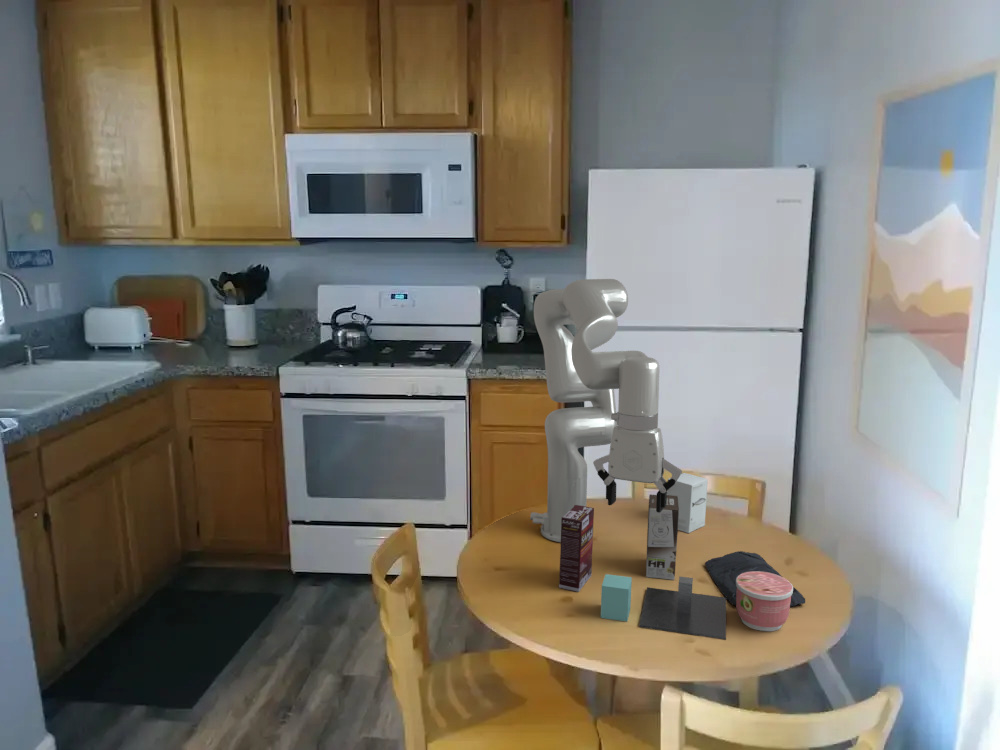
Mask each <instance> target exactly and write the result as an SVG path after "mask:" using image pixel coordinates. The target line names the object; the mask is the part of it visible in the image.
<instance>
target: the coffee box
mask: <svg viewBox="0 0 1000 750" xmlns="http://www.w3.org/2000/svg"><path fill="white" fill-rule="evenodd" d="M656 502H657V494H649V496H648V513H647V530H646V531H647V534H646V555H645V556H646V557H645V558H646V559H645V561H646V563H645V565H646V566H645V568H646V571H645V577H646V578H652V579H662V580H670V581H674V580H675V579H676V578H675V576H676V564H677V550H678V549H677V548H678V534H679V533H678V531H679V530H678V516H679V504H678V496H672V495H667V504H666V507H665V508H663V510H662V511H661V512H660V513H658V512H656Z"/></svg>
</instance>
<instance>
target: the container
mask: <svg viewBox="0 0 1000 750" xmlns="http://www.w3.org/2000/svg"><path fill="white" fill-rule="evenodd" d="M781 576H782V575H781ZM781 576H779V575H776V574H772V573H768V572H760V571H751V572H745V573H742V574H740V575H739V576H738V577H737V578H736V586H737V595H736V605H735V606H736V611H737V614H738V616H739V617H740V620H741V622H742V623H743V624H744V625H746V626H747V627H749V628H750V629H753V630H755V631H761V632H775V631H778V630H780V629H781V628H782V627H783V626H782V625H784V624H785V623H786V621H787V620H788V618H789V616H790V608H791V607H790V602H791V595H792V594H793V587H794V586H793V584H792V583H791V582H790V581H789V580H788V579H787V578H785V577H784V576H782V577H781Z"/></svg>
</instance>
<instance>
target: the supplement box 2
mask: <svg viewBox="0 0 1000 750" xmlns="http://www.w3.org/2000/svg"><path fill="white" fill-rule="evenodd" d="M670 478H671V477H669V478H667V481H668V480H670ZM708 480H709V479H708V478H705V477H701V476H698V475H695V474H694V475H693V474H690V473H686V472H682V474H681V475H680V477H679V478H678V480H677V482H676V483H675V484H674V485H673V486H672V487H671V488H670V489H668V490H667V495H672V496H678V504H679V516H678V531H680V532H683V533H685V534H686V533H687V534H690V533H692V532H694V531H696V530H698V529H700V528H702V527H705V526H706V513H707V512H706V511H707V499H708V498H707V497H708V496H707V495H708V483H709V481H708Z"/></svg>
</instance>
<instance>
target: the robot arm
mask: <svg viewBox="0 0 1000 750" xmlns="http://www.w3.org/2000/svg"><path fill="white" fill-rule="evenodd" d="M533 303H534V304H533V319H534V324H535V328H536V330H537V333H538V335H539V338H540V341H541V345H542V348H543V355H544V367H545V375H546V376H545V377H546V379H545V380H546V386H547V387H546V388H547V392H548V396H549V397H550V400H552V401H553V402H556V403H581V402H590V403H591V405H592V406H584V407H583V406H580V407H566V408H558V409H555V410H553V411H551V412H550V413H548V415H547V416H546V418H545V420H544V431H545V432H544V433H545V437H546V438H545V440H546V446H547V504H546V505H547V511H546V512H543V513H539V512H533V511H532V512H531V513H530V521H532V523H533V524H539V525H540V534H541V535H542V536H543V537H544V538H546V540H549V541H553V542H558V543H561V519H562V517H563V516H565V515H566V514H567V513H568V512H569V511H570V510H571V509H572V508H573V507H574V505H580V506H586V507H587V500H588V499H587V495H588V491H587V490H588V463H587V461H586V459H585V458H584V457H583V455H581V452H579V448H584V447H587V448H588V447H600V446H606V445H610V447H609V453H608V454H606V455H603V456H601V457H599V458H597V459H595V460H594V461H593V466H594V469H595V471H596V472H597V475H598V476H599V478H600V480H602V481H603V484H604V486H605V499H606V500H607V506H612V505H614V503H615V502H616V501H617V482H616V481H615V480H621V481H626V482H627V481H629V482H634V483H635V482H636V483H643V484H654V485H655V487H656V488H657V490H658V491H657V492H656V495H657V502H656V512H658V513H660V512H661V511H662V510H663V508H665V507H666V504H667V490H668V489H670V488H671V487H672V486H673V485H674V484H675V483H676V482H677V480H678V478H679V477H680V475H681V474H682V473H683V471H682V469H681V468H679V467H678V466H676V465H674V464H672V463H671V462H669V461H668V460H667V459H665V450H664V449H665V448H664V441H663V434H662V429H661V428H659V427H658V426H659V425H658V424H659V399H660V398H659V397H660V396H659V395H660V394H659V393H660V392H659V391H660V364H659V361H658V360H657V359H656V358H653V357H650V356H647V355H646V353H644V352H642V351H640V350H618V351H617V350H615V351H598V352H597V351H592V350H594V349H596V348H598V347H601V346H602V345H603V346H604V344H606V343H607V342H609V341H610V340H611V339H612V338H613V337H615V334H616V333H617V331H618V328H619V326H618V325H619V323H618V319H617V318H620V316H622V315H624V313H625V312H626V311H627V308H628V304H629V294H628V291H627V290H626V287H625V286H624V284H623V283H622V282H621V281H619V280H618V279H614V278H594V279H592V278H590V279H586V278H585V279H578V280H577V279H576V280H574V281H572V282H570V283H569V284H567V285H566V286H565V288H557V289H550V290H545V291H543V292H541V293H539V294H538V295H537V296H536V297H535V300H534V302H533ZM565 325H569V326H570V325H574V327H575V329H576V330H577V331H576V332H575V335H573V333H572V332H571V331H570V330H569V329H568V328H567V327H566V326H565ZM615 390H618V407H616V399H615V398H616V397H615ZM617 408H618V409H617ZM607 463H608V466H607V467H608V469H607V470H608V471H607V470H606V469H605V467H604V464H607ZM665 470H666V471H667V472H668V473H670V474H671V477H669V478H670V480H668V479H667V480H666V478H665V477H664V473H665Z"/></svg>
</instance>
